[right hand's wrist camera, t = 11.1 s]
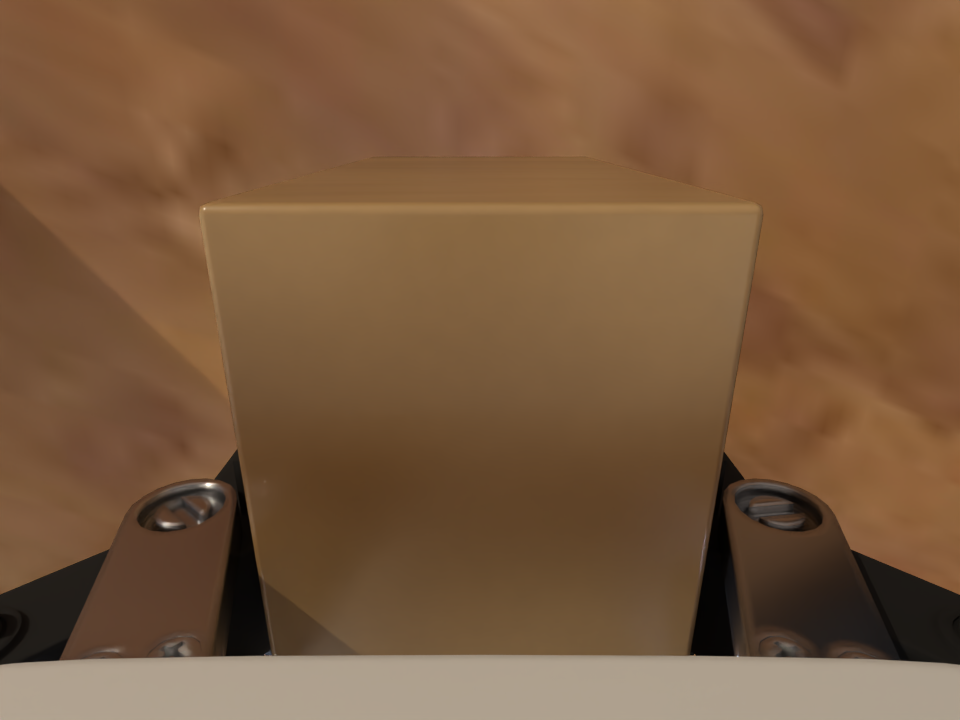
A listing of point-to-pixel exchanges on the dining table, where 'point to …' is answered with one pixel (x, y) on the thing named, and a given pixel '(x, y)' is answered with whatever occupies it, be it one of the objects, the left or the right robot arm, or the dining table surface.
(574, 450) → the post
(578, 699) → the right robot arm
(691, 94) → the dining table surface
